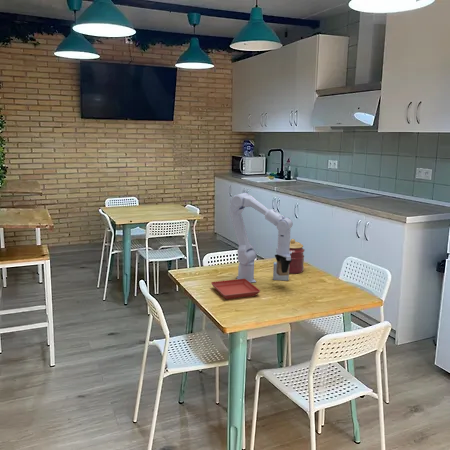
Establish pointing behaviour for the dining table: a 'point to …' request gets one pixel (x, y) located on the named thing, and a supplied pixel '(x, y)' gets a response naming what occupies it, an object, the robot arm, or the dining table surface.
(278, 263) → the walnut block
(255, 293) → the plant saucer
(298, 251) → the canister
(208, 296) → the dining table surface
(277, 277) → the medicine box
